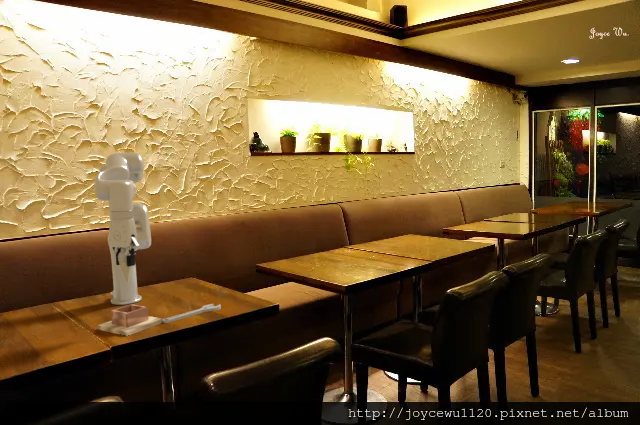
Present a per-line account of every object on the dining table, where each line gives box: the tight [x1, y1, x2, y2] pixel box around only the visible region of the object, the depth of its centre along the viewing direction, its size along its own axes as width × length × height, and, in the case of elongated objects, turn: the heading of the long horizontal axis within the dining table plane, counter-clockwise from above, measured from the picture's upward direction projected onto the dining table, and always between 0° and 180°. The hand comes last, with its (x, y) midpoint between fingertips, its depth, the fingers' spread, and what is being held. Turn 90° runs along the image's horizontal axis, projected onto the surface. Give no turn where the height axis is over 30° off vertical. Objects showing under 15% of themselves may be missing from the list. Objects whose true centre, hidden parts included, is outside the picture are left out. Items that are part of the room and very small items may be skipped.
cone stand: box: [97, 303, 164, 337], centre depth 187 cm, size 16×16×6 cm
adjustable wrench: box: [162, 303, 222, 324], centre depth 200 cm, size 25×6×2 cm, turn 133°
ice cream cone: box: [118, 248, 131, 282], centre depth 185 cm, size 5×5×15 cm
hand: (125, 264), depth 185 cm, fingers closed on ice cream cone, 5 cm apart
